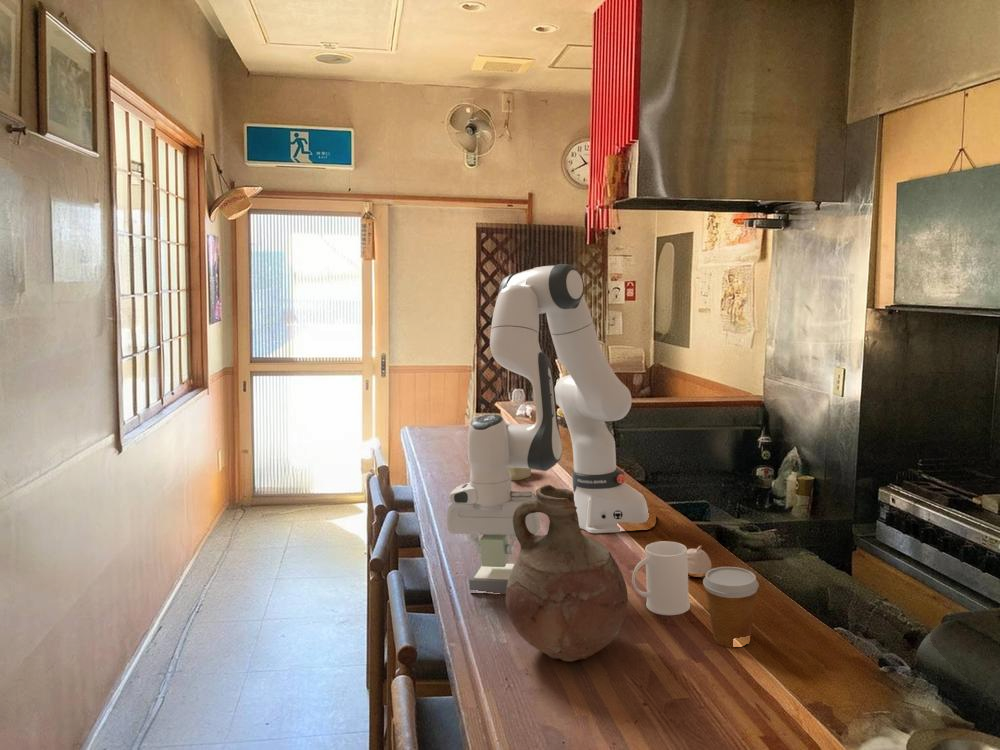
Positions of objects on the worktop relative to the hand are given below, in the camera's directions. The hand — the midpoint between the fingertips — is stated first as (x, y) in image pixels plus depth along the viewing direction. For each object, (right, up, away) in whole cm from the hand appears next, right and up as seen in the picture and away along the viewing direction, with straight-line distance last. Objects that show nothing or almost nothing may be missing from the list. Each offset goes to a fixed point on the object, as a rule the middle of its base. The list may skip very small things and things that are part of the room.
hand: (495, 553), depth 170 cm
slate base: (+1, -7, +1) cm, 7 cm away
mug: (+33, -8, -15) cm, 37 cm away
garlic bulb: (+43, -5, -1) cm, 44 cm away
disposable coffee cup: (+43, -9, -30) cm, 53 cm away
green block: (0, -2, 0) cm, 2 cm away
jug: (+13, -11, -30) cm, 35 cm away
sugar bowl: (+7, +5, +85) cm, 85 cm away
